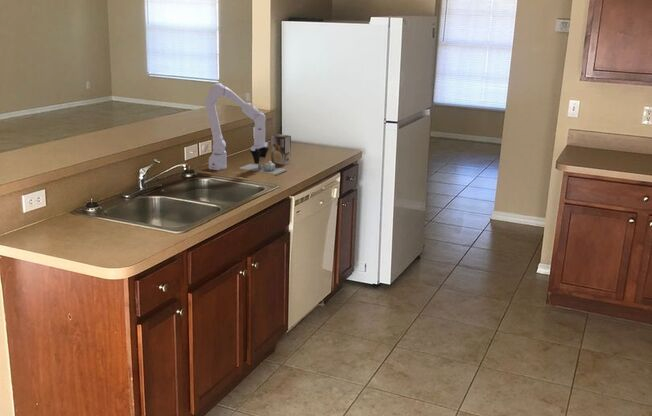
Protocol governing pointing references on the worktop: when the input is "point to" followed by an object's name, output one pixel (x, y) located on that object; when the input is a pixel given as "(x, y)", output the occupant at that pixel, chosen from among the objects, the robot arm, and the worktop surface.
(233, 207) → the worktop surface
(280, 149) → the coffee box
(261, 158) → the loose gear
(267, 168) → the gear board
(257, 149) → the robot arm
